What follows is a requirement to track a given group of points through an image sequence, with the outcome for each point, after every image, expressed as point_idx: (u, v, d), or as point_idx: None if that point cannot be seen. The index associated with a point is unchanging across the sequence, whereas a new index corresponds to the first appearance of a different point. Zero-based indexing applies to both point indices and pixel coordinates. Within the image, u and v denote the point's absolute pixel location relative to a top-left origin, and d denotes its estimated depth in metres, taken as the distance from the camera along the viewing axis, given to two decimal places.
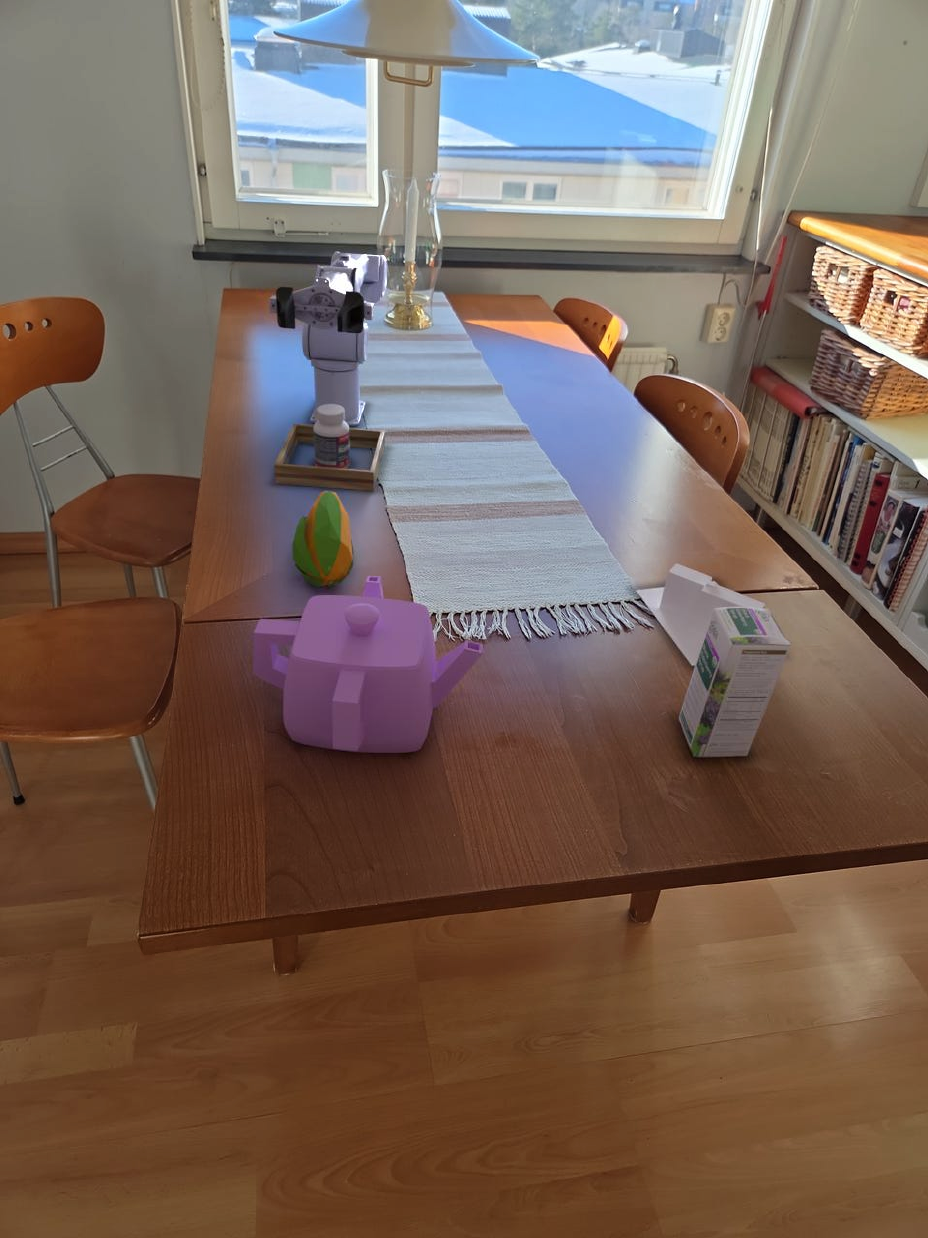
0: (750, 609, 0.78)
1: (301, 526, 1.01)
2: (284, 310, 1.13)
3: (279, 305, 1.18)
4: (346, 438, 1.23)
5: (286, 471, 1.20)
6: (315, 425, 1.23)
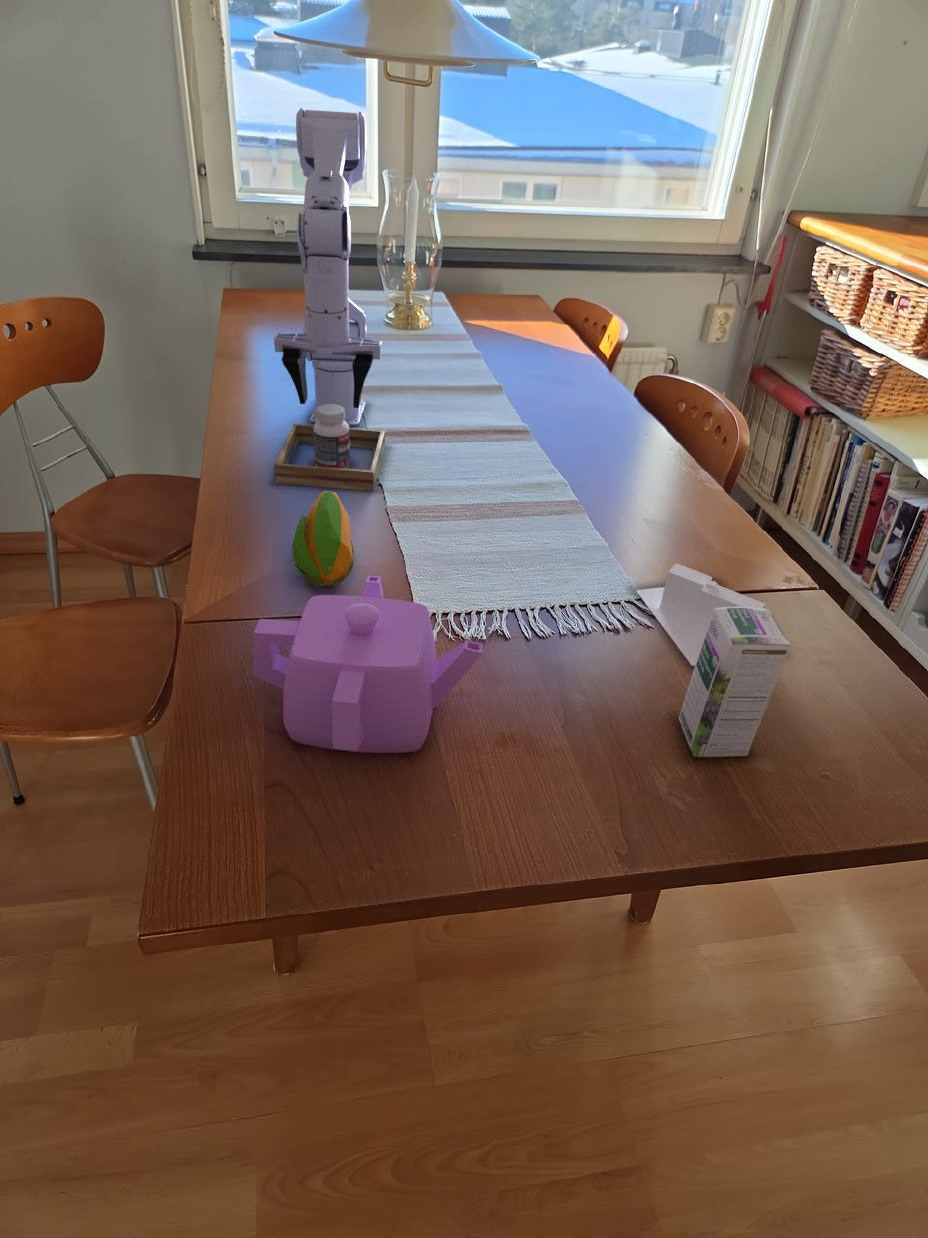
0: (750, 609, 0.78)
1: (301, 526, 1.01)
2: (303, 401, 1.20)
3: None
4: (346, 438, 1.23)
5: (286, 471, 1.20)
6: (315, 424, 1.23)
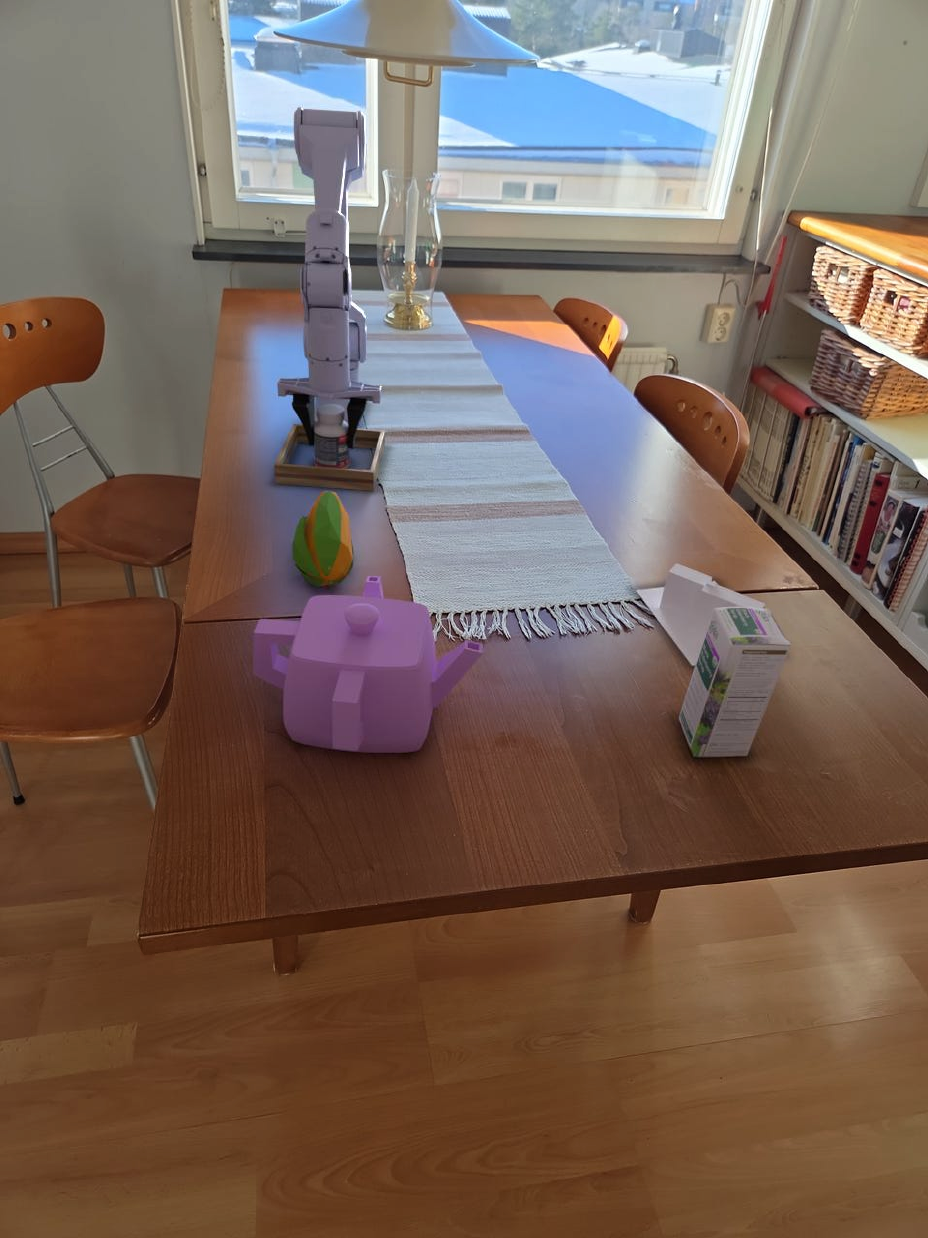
0: (750, 609, 0.78)
1: (301, 526, 1.01)
2: (312, 443, 1.24)
3: None
4: (346, 438, 1.23)
5: (286, 471, 1.20)
6: (315, 425, 1.23)
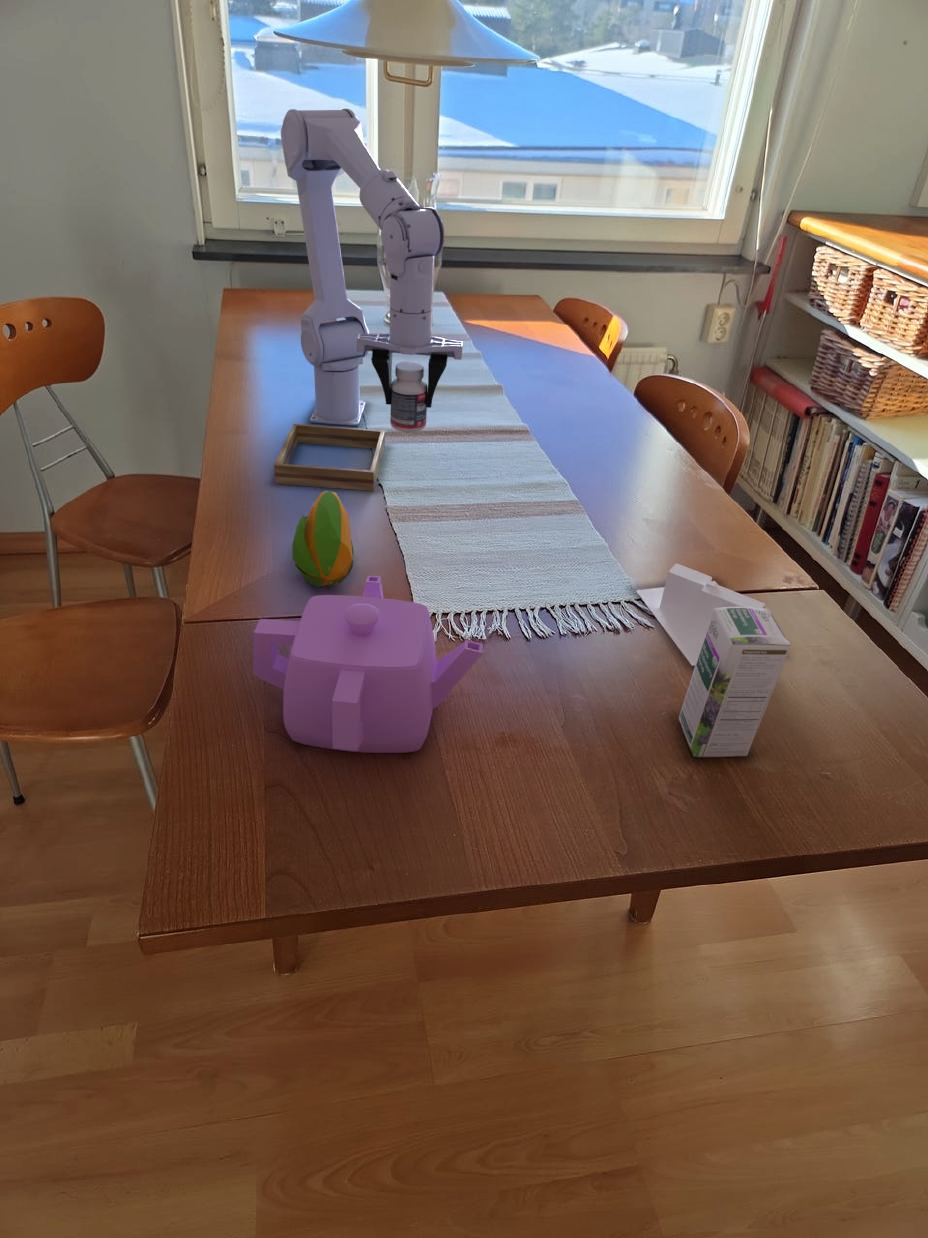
0: (750, 609, 0.78)
1: (301, 526, 1.01)
2: (389, 401, 1.20)
3: None
4: (425, 397, 1.20)
5: (286, 471, 1.20)
6: (393, 382, 1.19)
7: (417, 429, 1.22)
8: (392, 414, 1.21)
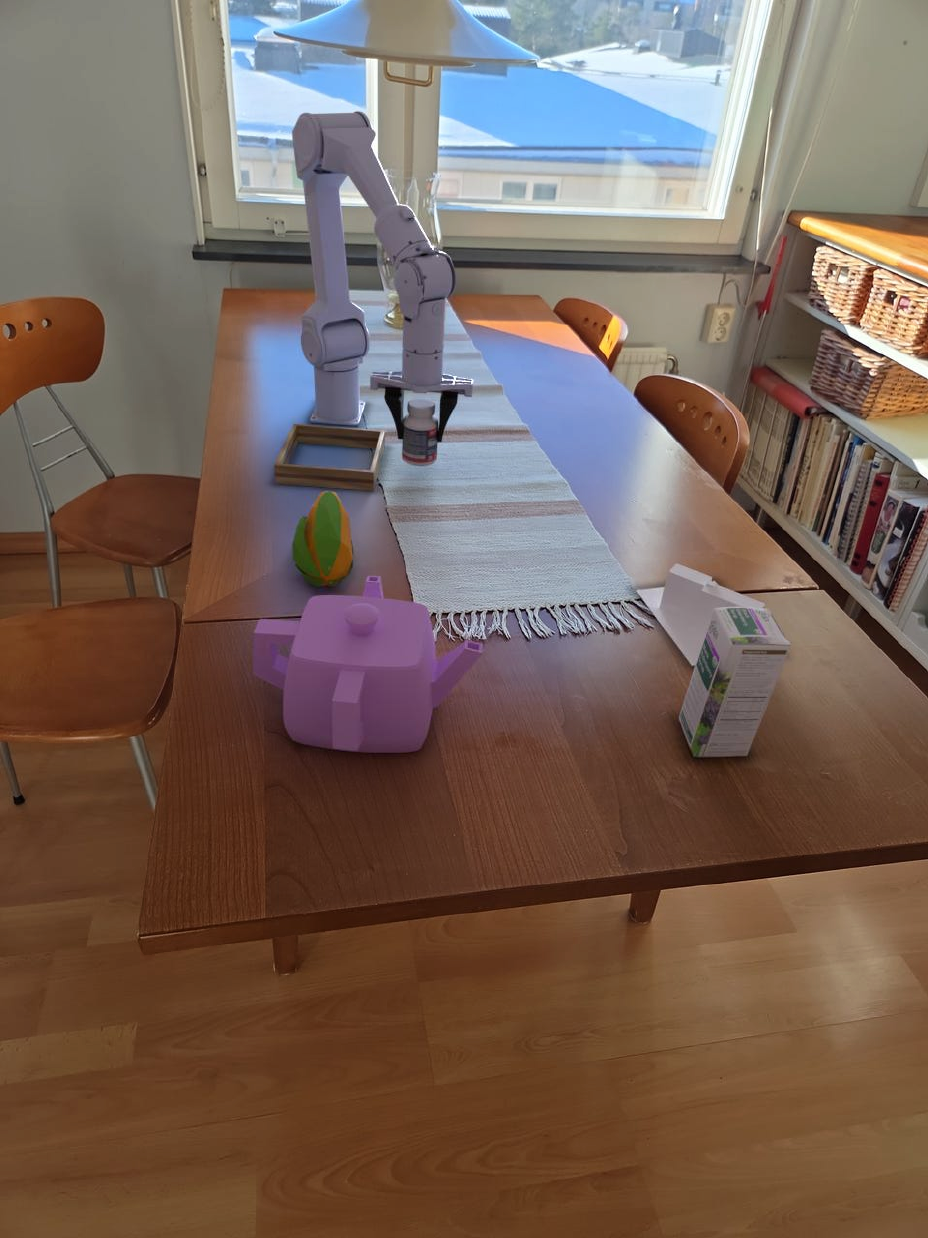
0: (750, 609, 0.78)
1: (301, 526, 1.01)
2: (401, 436, 1.24)
3: None
4: (436, 432, 1.23)
5: (286, 471, 1.20)
6: (405, 418, 1.23)
7: (428, 463, 1.25)
8: (404, 449, 1.25)
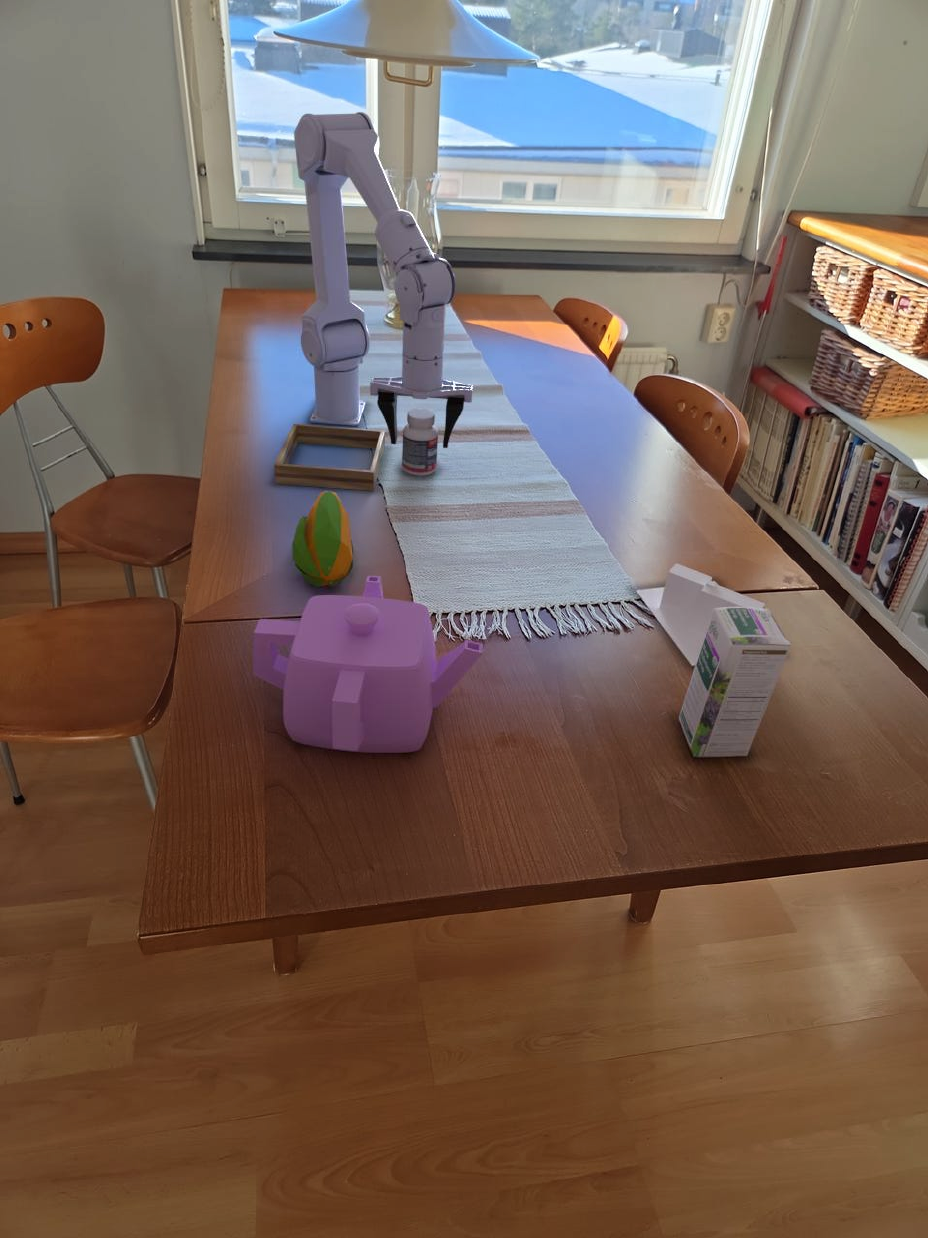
0: (750, 609, 0.78)
1: (301, 526, 1.01)
2: (394, 441, 1.24)
3: None
4: (435, 442, 1.24)
5: (286, 471, 1.20)
6: (405, 428, 1.23)
7: (428, 473, 1.26)
8: (404, 458, 1.25)
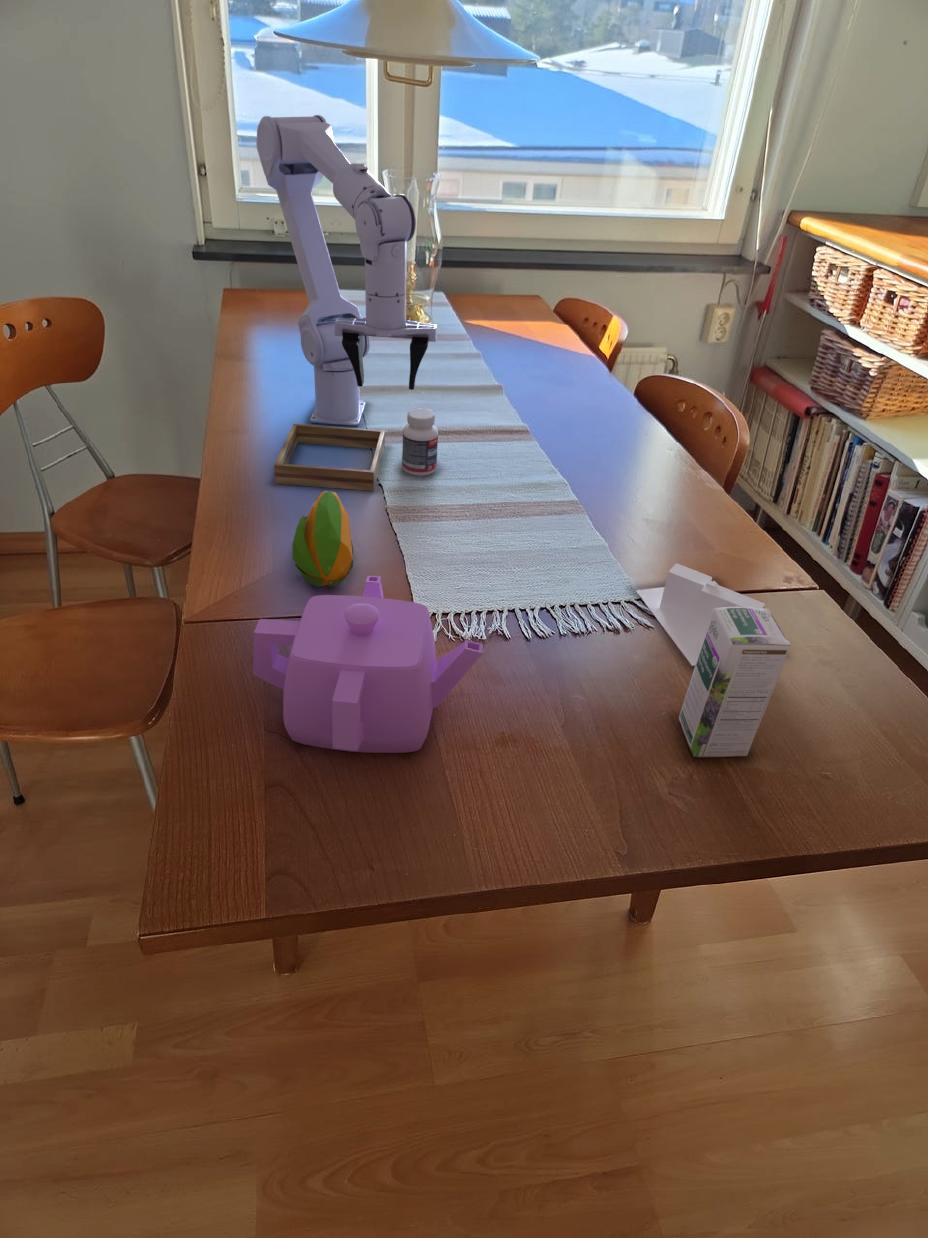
0: (750, 609, 0.78)
1: (301, 526, 1.01)
2: (360, 383, 1.25)
3: None
4: (435, 442, 1.24)
5: (286, 471, 1.20)
6: (405, 428, 1.23)
7: (428, 473, 1.26)
8: (404, 458, 1.25)
